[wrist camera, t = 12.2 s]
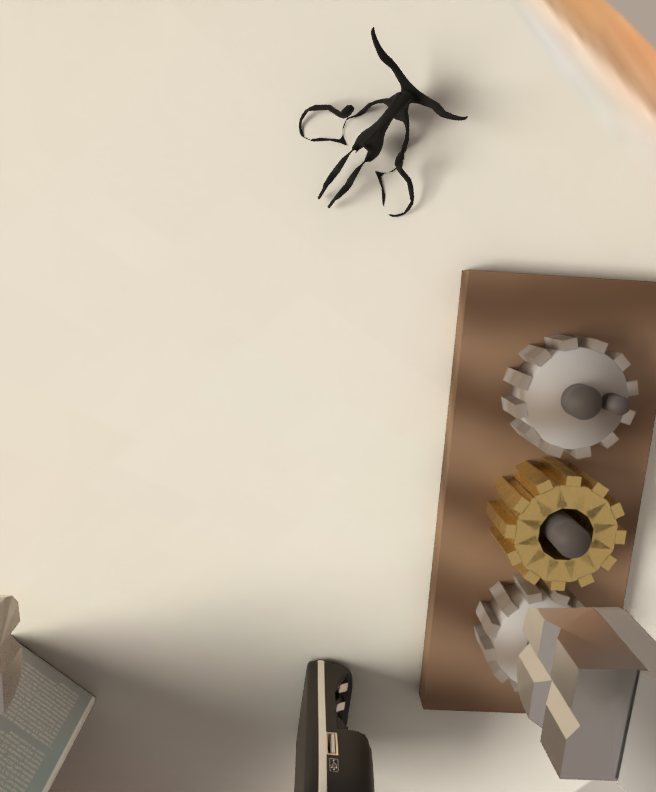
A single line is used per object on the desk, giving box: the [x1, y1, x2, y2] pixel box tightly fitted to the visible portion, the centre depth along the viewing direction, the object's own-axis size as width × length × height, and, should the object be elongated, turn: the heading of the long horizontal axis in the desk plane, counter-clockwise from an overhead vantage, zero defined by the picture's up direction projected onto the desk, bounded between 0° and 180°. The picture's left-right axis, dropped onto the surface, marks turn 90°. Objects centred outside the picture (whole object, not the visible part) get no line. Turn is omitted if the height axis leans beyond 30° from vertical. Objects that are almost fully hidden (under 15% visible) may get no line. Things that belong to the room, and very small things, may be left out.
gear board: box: [419, 270, 656, 713], centre depth 34 cm, size 28×12×6 cm, turn 176°
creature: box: [299, 27, 468, 217], centre depth 31 cm, size 8×5×8 cm
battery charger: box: [294, 660, 374, 792], centre depth 34 cm, size 7×4×11 cm, turn 173°
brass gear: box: [486, 457, 627, 591], centre depth 34 cm, size 7×7×4 cm
